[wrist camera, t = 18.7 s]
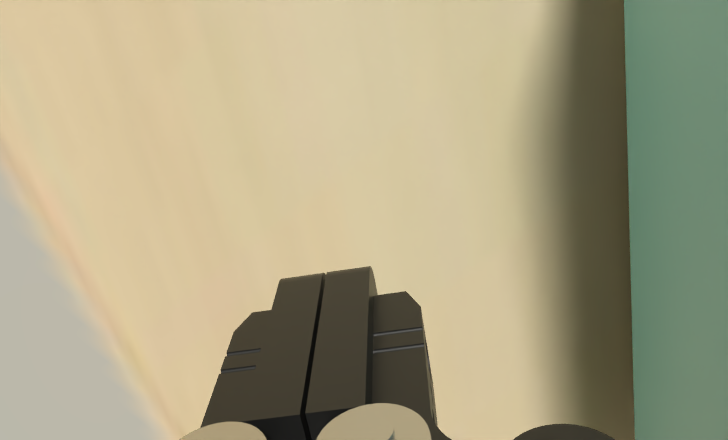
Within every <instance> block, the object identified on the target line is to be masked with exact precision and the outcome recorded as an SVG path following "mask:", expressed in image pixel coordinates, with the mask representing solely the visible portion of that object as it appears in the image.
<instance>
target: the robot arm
mask: <svg viewBox="0 0 728 440" xmlns="http://www.w3.org/2000/svg"><path fill="white" fill-rule="evenodd" d="M180 440H451V439H450V438H448V437H447V436H445V435H444V434H443V433H442V432H441V431H440V430H439V428H438V427H437V417H436V408H435V398H434V389H433V381H432V375H431V368H430V362H429V356H428V350H427V343H426V337H425V331H424V325H423V319H422V312H421V307H420V306H419V304H418V303H417V302H416V301H415V300H414V299H413V298H412V297H411V296H410V295H409V294H408V293H407V292H406V291H405V292H398V293H391V294H383V295H377V289H376V284H375V279H374V274H373V271H372V268H371V266H369V267H362V268H355V269H348V270H340V271H333V272H327V274H325V273H320V274H313V275H306V276H299V277H292V278H285V279H281V280H280V281H279V284H278V288H277V292H276V295H275V299H274V303H273V306H272V310H268V311H261V312H253V313H252V314H251V315H250V316H249V317H248V318H247V319H246V320H245V321H244V322H243V323H242V324H241V325H240V326H239V327H238V328H237V329H236V330H235V331H234V333H233V336H232V339H231V342H230V345H229V347H228V350H227V357H225V359H224V362H223V365H222V367H221V374H219V376H218V379H217V382H216V385H215V387H214V390H213V393H212V396H211V399H210V402H209V405H208V408H207V410H206V413H205V416H204V419H203V422H202V425H201V428H199V429H197V430H195V431H193V432H191V433H189V434H187V435H186V436H184V437H182V438H181V439H180ZM514 440H615V439H613V438H611V437H609V436H608V435H606V434H604V433H601V432H599V431H597V430H594V429H591V428H588V427H584V426H579V425H572V424H552V425H545V426H540V427H537V428H533V429H531V430H529V431H526V432H524V433H522V434H521V435H519V436H518V437H516V438H515V439H514Z"/></svg>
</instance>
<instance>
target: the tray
mask: <svg viewBox="0 0 728 440" xmlns="http://www.w3.org/2000/svg"><path fill="white" fill-rule="evenodd" d="M624 25H625V65H626V105H627V145H628V185H629V225H630V266H631V306H632V346H633V386H634V426H635V440H728V0H624Z"/></svg>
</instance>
